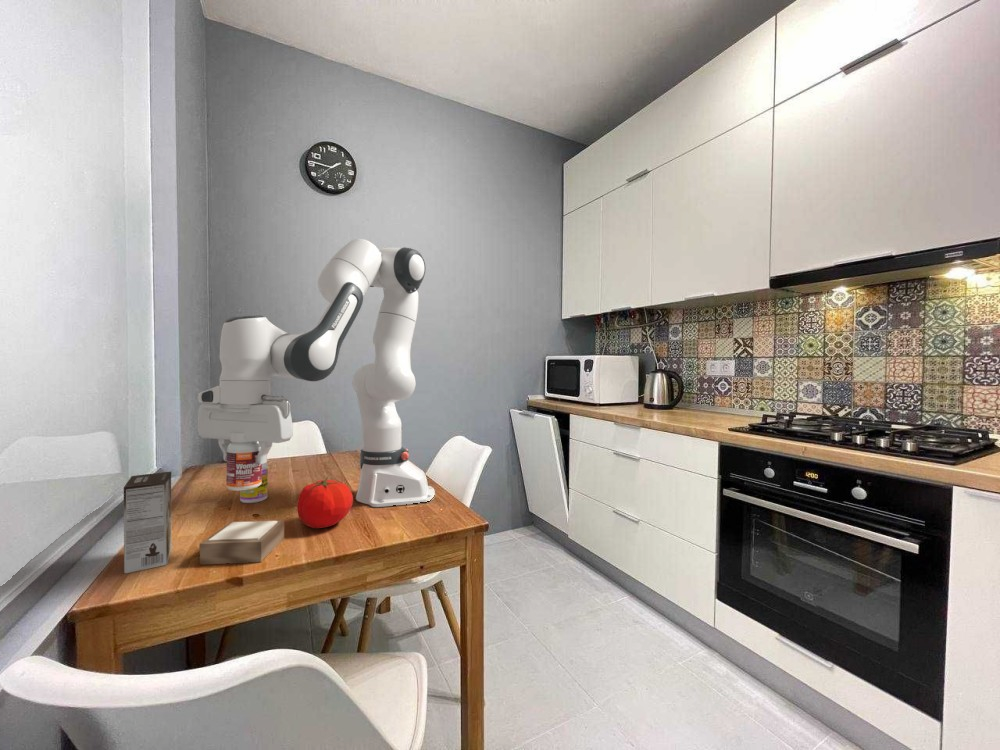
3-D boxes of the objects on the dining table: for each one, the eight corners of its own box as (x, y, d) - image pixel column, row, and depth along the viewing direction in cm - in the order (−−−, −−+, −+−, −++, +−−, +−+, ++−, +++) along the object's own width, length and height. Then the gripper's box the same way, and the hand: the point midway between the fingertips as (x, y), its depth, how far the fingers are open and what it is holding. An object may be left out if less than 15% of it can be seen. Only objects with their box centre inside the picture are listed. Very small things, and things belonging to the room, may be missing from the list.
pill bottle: (236, 493, 79) (236, 435, 79) (220, 487, 82) (221, 431, 82) (267, 485, 85) (268, 431, 84) (252, 480, 88) (252, 428, 88)
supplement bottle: (258, 504, 112) (258, 457, 111) (234, 503, 112) (234, 457, 111) (272, 496, 118) (272, 452, 118) (250, 495, 118) (250, 451, 118)
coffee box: (131, 555, 81) (130, 475, 81) (172, 547, 85) (172, 470, 85) (122, 574, 74) (122, 486, 73) (168, 565, 77) (168, 481, 77)
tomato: (302, 516, 103) (302, 475, 103) (354, 512, 106) (354, 472, 106) (290, 538, 90) (291, 490, 90) (350, 532, 94) (350, 487, 93)
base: (284, 538, 90) (284, 519, 90) (261, 562, 79) (261, 540, 79) (230, 540, 89) (230, 520, 89) (199, 564, 78) (199, 542, 78)
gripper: (300, 395, 84) (299, 461, 84) (219, 392, 89) (218, 455, 89) (277, 397, 78) (276, 469, 78) (191, 393, 82) (190, 461, 83)
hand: (245, 461), depth 83 cm, fingers closed on pill bottle, 6 cm apart
